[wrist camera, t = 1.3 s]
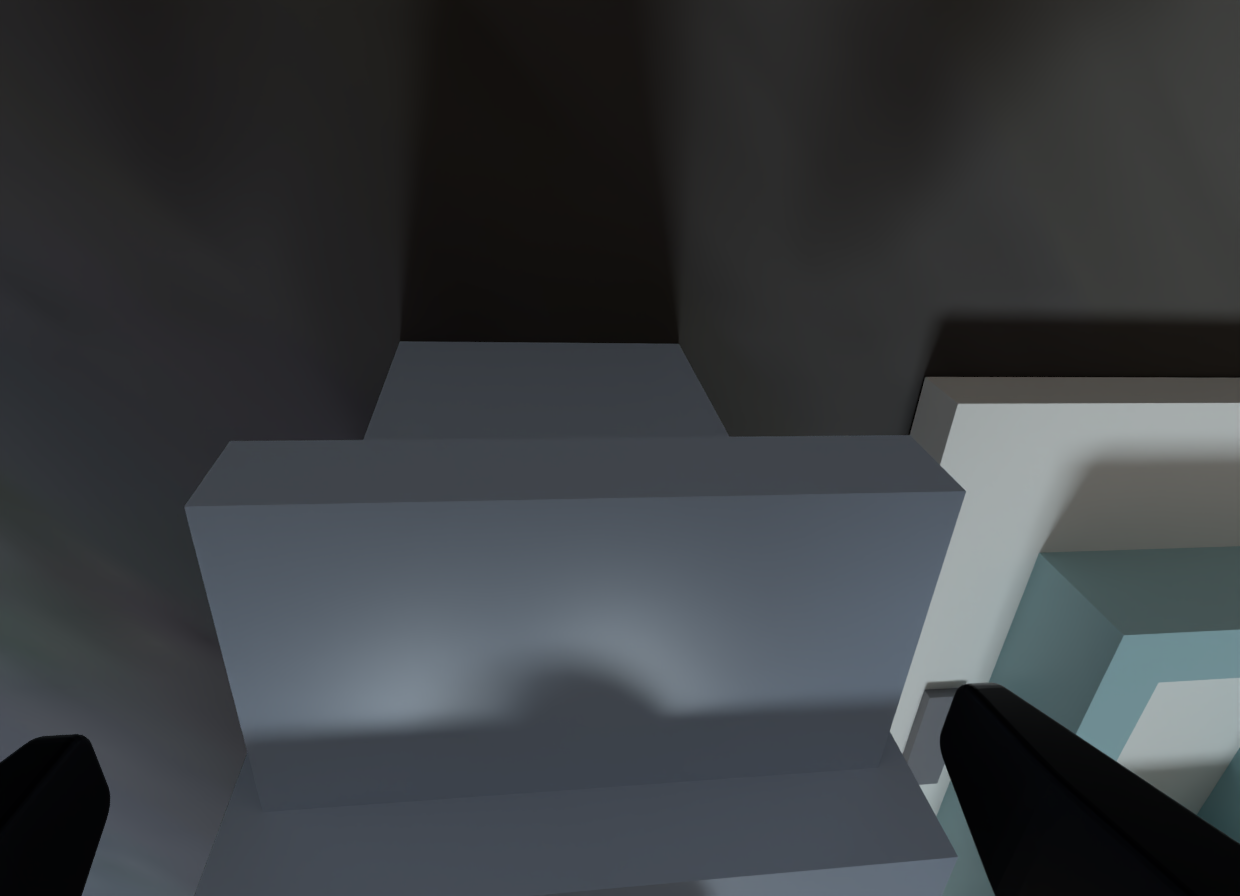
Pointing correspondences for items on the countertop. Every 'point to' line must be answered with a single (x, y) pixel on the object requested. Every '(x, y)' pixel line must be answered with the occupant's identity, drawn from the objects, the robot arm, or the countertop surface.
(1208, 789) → the chassis plate
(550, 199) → the countertop surface
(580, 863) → the block
